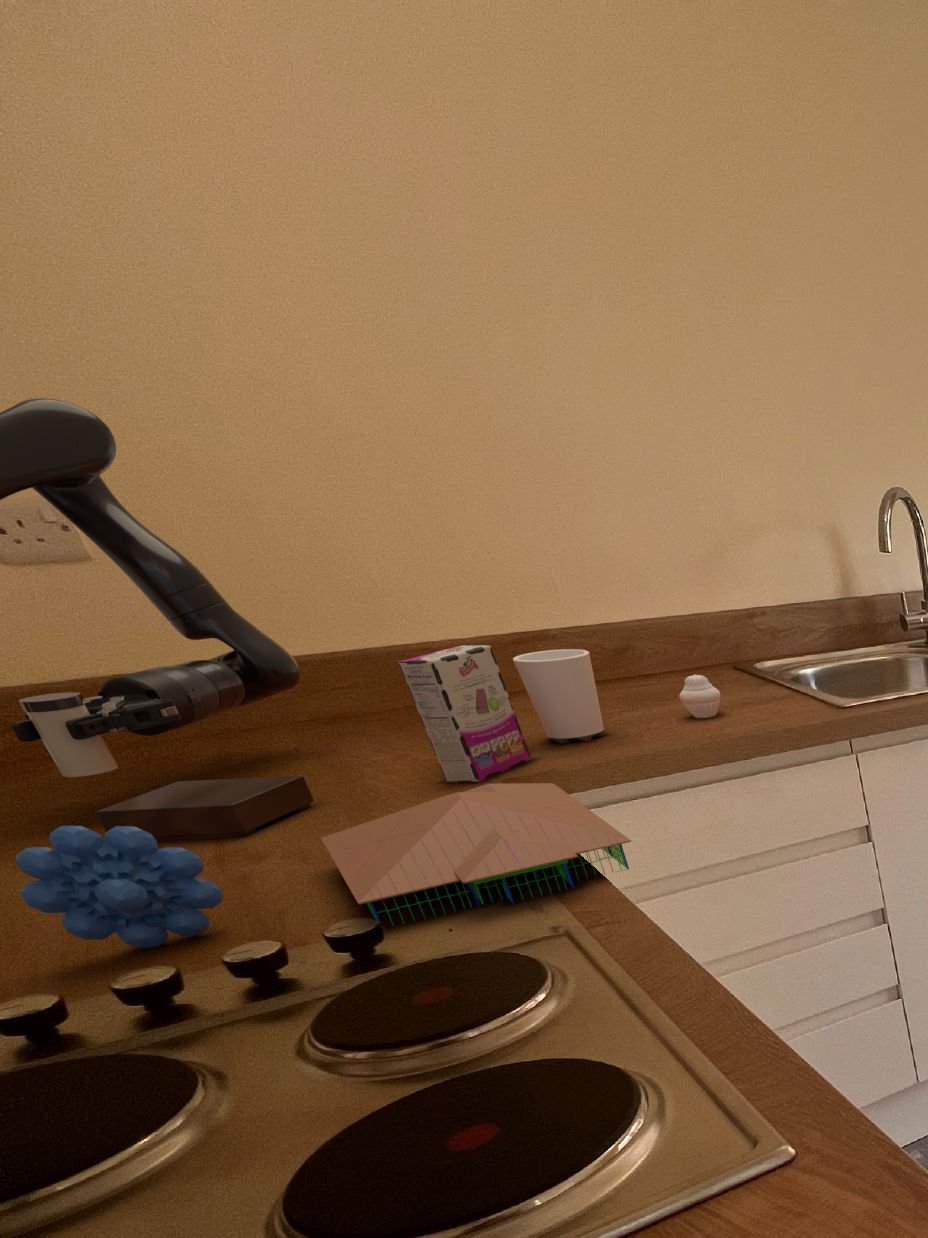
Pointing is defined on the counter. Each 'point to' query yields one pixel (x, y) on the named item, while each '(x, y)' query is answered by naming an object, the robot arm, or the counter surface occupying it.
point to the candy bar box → (466, 712)
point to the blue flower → (118, 885)
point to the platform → (209, 807)
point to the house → (471, 842)
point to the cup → (562, 693)
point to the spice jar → (67, 734)
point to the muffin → (700, 696)
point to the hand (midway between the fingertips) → (46, 732)
